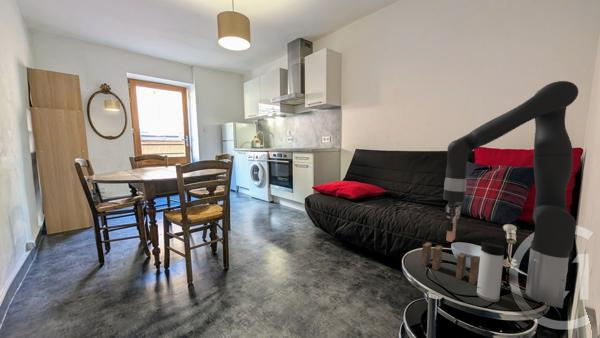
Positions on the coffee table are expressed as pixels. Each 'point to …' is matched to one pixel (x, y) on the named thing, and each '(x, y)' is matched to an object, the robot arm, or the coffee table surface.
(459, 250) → the chinaware
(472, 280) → the walnut tile
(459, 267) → the walnut tile
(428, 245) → the walnut tile
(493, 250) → the travel mug
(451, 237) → the terracotta tile
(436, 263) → the walnut tile
